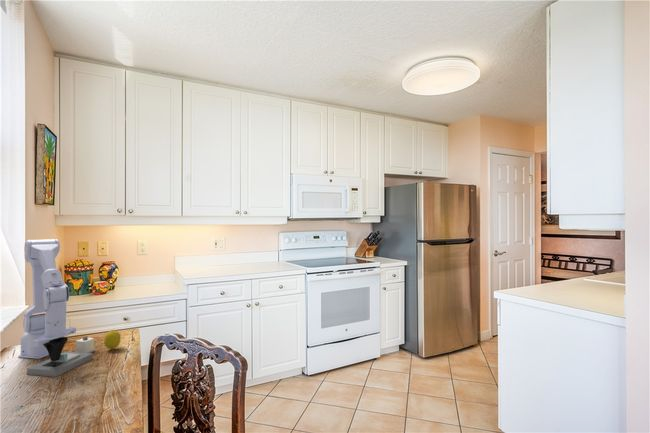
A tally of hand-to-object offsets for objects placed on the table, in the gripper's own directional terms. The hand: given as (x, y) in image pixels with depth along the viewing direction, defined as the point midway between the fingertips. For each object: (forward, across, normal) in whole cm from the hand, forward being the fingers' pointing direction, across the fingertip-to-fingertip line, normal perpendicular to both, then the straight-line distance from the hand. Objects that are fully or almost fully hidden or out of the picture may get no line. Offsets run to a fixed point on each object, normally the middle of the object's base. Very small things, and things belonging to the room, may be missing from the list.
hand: (55, 360), depth 119 cm
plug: (+3, +15, +2) cm, 16 cm away
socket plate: (+3, +3, 0) cm, 4 cm away
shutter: (+1, +4, 0) cm, 4 cm away
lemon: (+3, +19, -6) cm, 20 cm away
